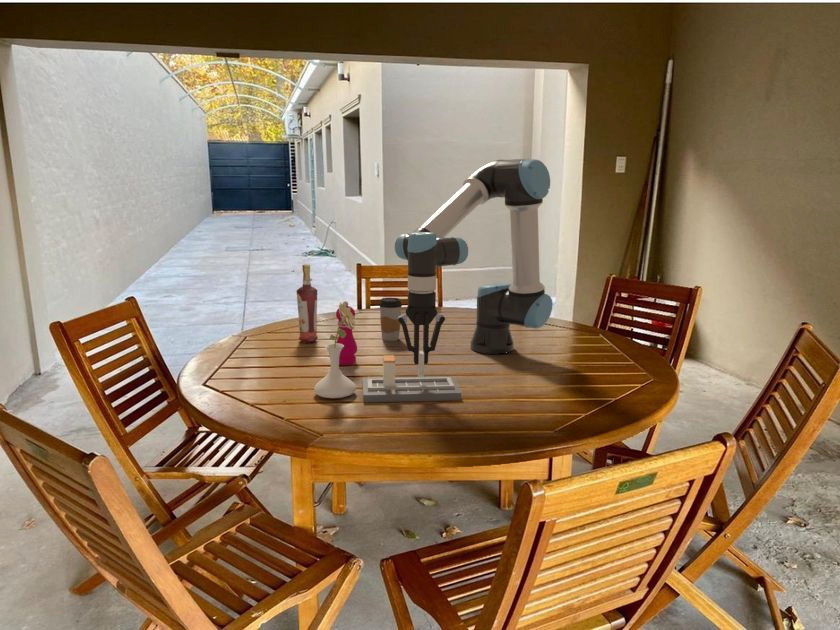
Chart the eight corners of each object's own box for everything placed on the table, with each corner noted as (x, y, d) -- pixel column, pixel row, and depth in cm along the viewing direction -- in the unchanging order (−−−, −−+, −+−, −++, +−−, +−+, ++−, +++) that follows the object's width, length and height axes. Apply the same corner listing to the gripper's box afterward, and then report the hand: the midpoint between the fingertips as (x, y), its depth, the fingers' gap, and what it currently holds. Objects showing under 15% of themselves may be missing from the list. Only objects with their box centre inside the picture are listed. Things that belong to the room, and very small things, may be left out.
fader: (393, 381, 160) (393, 355, 159) (395, 387, 156) (395, 360, 154) (383, 381, 160) (383, 355, 158) (383, 387, 155) (383, 360, 154)
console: (452, 382, 167) (452, 373, 167) (461, 399, 154) (461, 390, 153) (362, 384, 164) (362, 375, 164) (363, 402, 151) (363, 392, 150)
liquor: (321, 342, 208) (320, 265, 202) (302, 345, 204) (300, 266, 198) (313, 338, 214) (311, 263, 208) (294, 340, 210) (292, 264, 204)
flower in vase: (337, 405, 148) (336, 310, 143) (305, 396, 154) (302, 305, 149) (368, 391, 159) (368, 302, 154) (336, 383, 165) (335, 297, 160)
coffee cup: (405, 337, 216) (405, 298, 213) (395, 343, 209) (395, 302, 205) (385, 335, 219) (386, 296, 216) (375, 340, 212) (375, 300, 209)
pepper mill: (353, 366, 181) (352, 304, 177) (331, 364, 182) (330, 302, 178) (360, 359, 188) (359, 299, 183) (339, 358, 189) (338, 298, 185)
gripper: (443, 288, 157) (442, 370, 163) (396, 288, 156) (396, 371, 161) (448, 293, 150) (446, 379, 155) (398, 293, 149) (398, 380, 154)
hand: (420, 375), depth 158 cm, fingers closed
